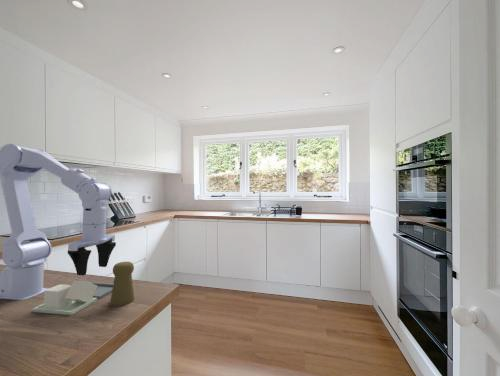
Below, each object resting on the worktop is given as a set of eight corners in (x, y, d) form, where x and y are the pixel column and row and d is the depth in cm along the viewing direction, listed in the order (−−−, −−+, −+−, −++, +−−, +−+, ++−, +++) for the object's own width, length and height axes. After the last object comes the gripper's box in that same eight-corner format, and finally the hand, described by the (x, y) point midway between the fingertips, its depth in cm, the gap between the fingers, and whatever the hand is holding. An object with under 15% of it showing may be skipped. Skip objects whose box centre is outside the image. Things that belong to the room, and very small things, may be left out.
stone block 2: (64, 298, 60) (74, 280, 63) (75, 301, 64) (84, 284, 66) (78, 299, 60) (87, 281, 63) (89, 303, 63) (97, 285, 66)
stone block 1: (43, 308, 60) (44, 290, 60) (59, 300, 64) (59, 284, 64) (58, 309, 59) (58, 291, 60) (72, 302, 64) (73, 285, 64)
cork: (123, 308, 61) (125, 266, 62) (104, 306, 62) (105, 264, 63) (139, 299, 67) (140, 260, 67) (121, 296, 68) (122, 259, 69)
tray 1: (32, 313, 58) (32, 308, 58) (62, 299, 66) (62, 295, 66) (71, 317, 57) (71, 312, 57) (96, 302, 65) (97, 297, 65)
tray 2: (65, 297, 67) (65, 293, 67) (90, 286, 76) (90, 282, 76) (99, 300, 66) (99, 296, 66) (121, 288, 75) (121, 284, 75)
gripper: (85, 227, 61) (83, 280, 60) (123, 221, 75) (122, 264, 74) (62, 226, 62) (59, 278, 61) (104, 220, 76) (102, 262, 75)
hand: (92, 270), depth 68 cm, fingers open, 7 cm apart
